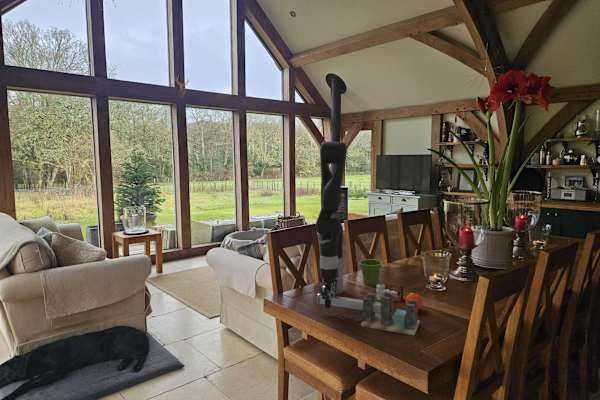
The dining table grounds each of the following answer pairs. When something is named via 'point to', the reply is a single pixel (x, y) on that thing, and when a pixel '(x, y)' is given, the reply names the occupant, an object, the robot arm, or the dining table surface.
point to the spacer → (400, 318)
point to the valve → (381, 291)
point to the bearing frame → (389, 315)
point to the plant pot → (370, 271)
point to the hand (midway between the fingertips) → (329, 306)
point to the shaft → (348, 303)
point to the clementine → (414, 297)
